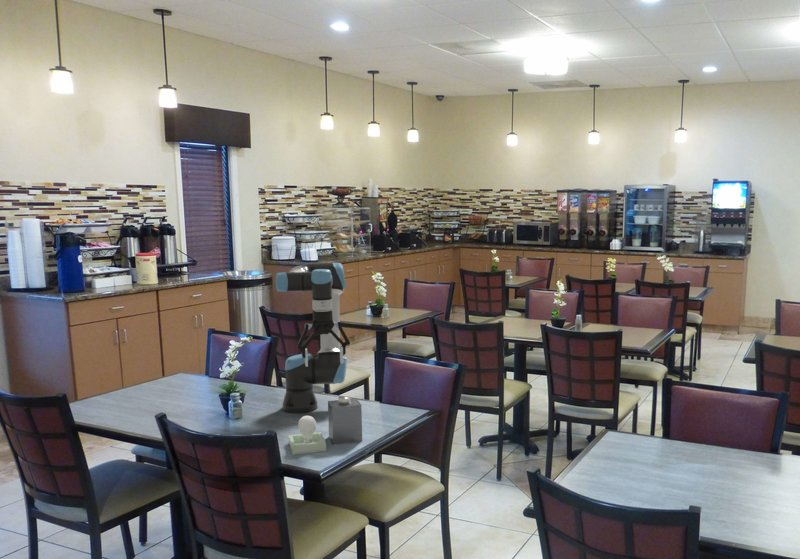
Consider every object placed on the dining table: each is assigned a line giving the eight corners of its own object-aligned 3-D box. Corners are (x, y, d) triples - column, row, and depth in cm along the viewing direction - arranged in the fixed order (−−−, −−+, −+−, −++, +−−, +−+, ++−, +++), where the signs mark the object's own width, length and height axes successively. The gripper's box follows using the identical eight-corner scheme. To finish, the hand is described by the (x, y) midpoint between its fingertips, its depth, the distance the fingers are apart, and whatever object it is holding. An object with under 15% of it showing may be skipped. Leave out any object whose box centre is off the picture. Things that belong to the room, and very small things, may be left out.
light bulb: (313, 448, 247) (312, 419, 245) (296, 447, 248) (295, 418, 247) (319, 442, 253) (318, 413, 252) (302, 441, 254) (301, 412, 253)
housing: (328, 436, 261) (327, 395, 260) (356, 433, 264) (355, 393, 263) (333, 444, 252) (331, 402, 251) (362, 441, 255) (361, 399, 254)
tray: (288, 443, 254) (288, 435, 254) (320, 440, 258) (320, 432, 257) (292, 454, 243) (292, 446, 243) (326, 450, 246) (326, 442, 246)
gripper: (290, 313, 254) (292, 369, 257) (356, 309, 260) (358, 364, 263) (288, 310, 261) (290, 364, 264) (352, 306, 267) (354, 359, 270)
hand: (324, 364), depth 263 cm, fingers open, 13 cm apart
